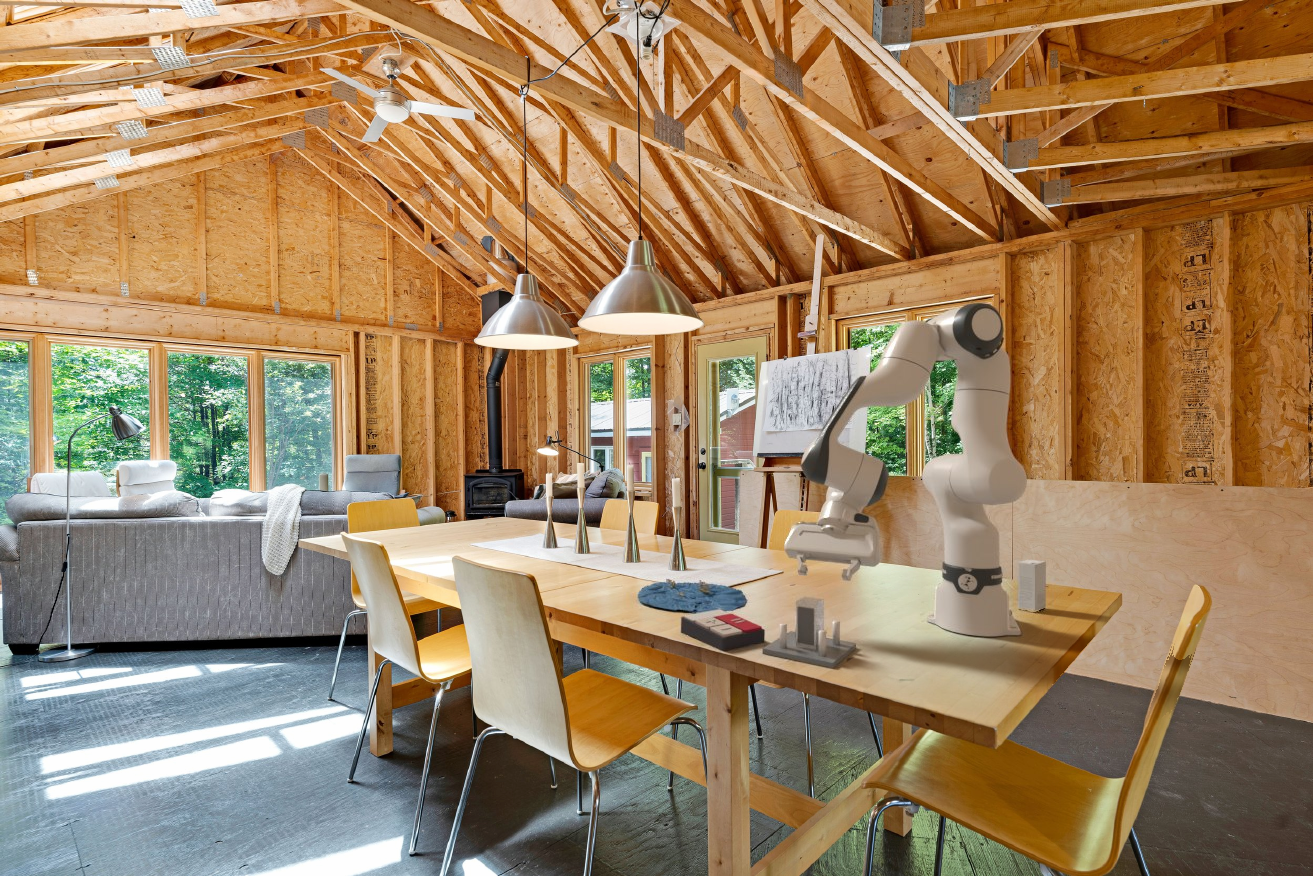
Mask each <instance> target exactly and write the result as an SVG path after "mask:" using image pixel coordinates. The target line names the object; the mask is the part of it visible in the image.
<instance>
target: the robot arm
mask: <svg viewBox="0 0 1313 876" xmlns="http://www.w3.org/2000/svg"><path fill="white" fill-rule="evenodd" d="M1004 331H1005V330H1004V321H1003V319H1002V316H1001V313H1000V312H999V310H998V309H997V308H995V306H993V304H989V303H985V302H973V303H967V304H964V305H963V306H959V307H954V308H951V309H949V310H947V311H944V312H942V313H941V314H938V315H936V316H934V317H932V318H928V319H927V320H925V321H923V320H919V319H917V320H916V319H915V320H914V319H913V320H907V321H905V322H903V323H902V324H900V325H899V326H897V328H896V330H895V331H894V333H893V334H892V337H891V338H890V340H889V341H888V343H887V345H886V347H885V349H884V350H883V352H882V355H881V357H880V359H879V362H878V364H877V366H876V367H875V368H874V369H873V370H872V371H871V372H870V373H868V374H867V375H860V376H859V377H858V378H856V379H855V380H854V381H853V382H852V384H851V385H850V386H849V388H848V389H847V390H846V392H845V394H844V395H843V396H842V398H841V399H840V401H839V402H838V404H837V405H836V407H835V408H834V410H833V411H832V413H831V414H830V416H829V418H828V419H827V420H826V423H824V425H823V427H822V429H821V430H820V432H819V434H818V435H817V436H816V437H815V438H814V439H813V440H812V442H811V443H810V444H809V445H808V446H807V448H806V449H805V451H804V453H803V455H802V458H801V461H800V462H801V464H800V468H801V470H802V472H803V474H804V476H805V478H806V479H807V481H809V482H813V483H816V484H819V485H822V486H827V487H828V488H827V489H826V495H825V501H824V503H823V505H822V506H821V509H820V513H819V516H818V519H817V522H815V521H799V522H796V523H793V524H792V526H791V528H790V531H789V534H788V536H786V537H787V538H786V540H785V542H784V545H783V548H784V549H783V550H784V551H785V553H786V556H787V557H788V558H789V559H793V560H794V559H797V562H798V568H797V573H798V575H799V576H805V577H806V576H807V574H808V571H809V568H808V566H807V564H804V563H807V561H815V562H823V563H824V562H825V563H834V564H845V565H850V566H849V567H847V568H843V569H842V572H841V578H842V581H847V582H851V580H852V577H853V575H854V574H855V573H857V572H858V571H859V570H860V569H861V568H860V567H861V566H863V567H870V568H874V567H876V566H878V565H879V564H880V563H881V555H882V545H881V541H880V539H881V533H880V527H879V526H878V525H879V524H878V522H877V520H876V518H875V517H874V516H872V515H869V514H865V513H862V512H863V510H864V509H865V507H866V508H867V507H870V506H873V505H874V504H876V503H878V502H879V501H880V500H881V499H882V498H883V496H884V494H885V492H886V489H887V485H888V480H889V477H890V473H889V469H888V466H887V465H886V463H885V462H884V461H882V460H881V459H879V458H877V457H874V456H872V455H869V454H867V453H864V452H860V451H858V450H856V449H854V448H851V447H848V446H846V445H843V444H841V443H840V442H839V437H840V436H841V434H842V432H843V431H844V430H845V428H846V427H847V425H848V423H849V422H850V420H851V418H852V417H853V415H854V414H855V412H857V411H859V410H860V409H863V408H869V407H873V408H874V407H877V408H878V407H879V408H880V407H881V408H883V407H884V408H892V407H893V408H894V407H902V406H905V405H908V404H911V403H912V402H915V401H916V400H918V398H919V397H920V396H921V395H922V393H923V391H925V388H926V387H927V384H928V382H929V379H930V378H931V373H932V371H933V369H934V366H935V363H942V362H947V361H953V360H954V364H955V367H956V371H957V377H956V383H955V387H954V388H955V389H954V396H953V403H952V411H951V418H950V419H951V420H950V423H951V424H950V425H951V428H952V429H953V430H954V431H955V432H956V433H957V434H958V436H959V439H960V442H961V447H962V453H946V454H944V455H940V456H937V457H934V458H931V459H930V460H929V461H927V463H926V464H925V465H924V468H923V470H922V475H921V477H922V483H923V486H924V488H925V489H926V490H927V491H928V493H929V494H930V495H931V496H932V497H933V500H934V502H935V504H936V507H937V509H938V512H939V516H940V518H941V519H940V520H941V523H942V528H943V529H942V530H943V531H942V532H943V545H944V546H943V547H944V548H943V552H944V560H943V561H942V567H941V573H942V574H941V575H942V578H943V579H942V581H941V582H940V583H939V584H937V585H935V591H934V612H933V613H931V614H929V615H927V616H926V621H927V622H929V623H930V624H933V625H936V626H938V627H940V628H942V629H944V630H947V631H950V632H954V633H958V634H962V635H967V636H968V635H970V636H977V637H1001V636H1020V635H1021V634H1022V633H1021V629H1020V627H1019V625H1018V622H1017V621H1016V619H1015V617H1014V615H1013V611H1012V609H1010V594H1008V593H1007V591H1006V590H1005V589H1004V588H1003V586H1002V583H1003V571H1002V570H1003V569H1002V566H1000V531H999V530H998V528H997V527H996V526H995V524H994V523H992V521H991V520H990V519H989V517H988V515H987V513H986V511H985V508H984V505H987V506H997V505H1005V504H1010V503H1014V502H1016V501H1018V500H1019V499H1020V498H1022V496H1023V495H1024V493H1025V492H1026V489H1027V485H1028V483H1027V482H1028V479H1027V478H1028V477H1027V473H1026V471H1025V468H1024V466H1023V465H1022V464H1021V463H1020V462H1019V461H1018V459H1016V458H1015V456H1014V454H1013V452H1012V449H1011V447H1010V443H1009V438H1008V433H1007V423H1008V413H1009V412H1008V411H1009V402H1010V392H1011V363H1010V357H1009V356H1010V355H1009V354H1008V353H1007V351H1005V350H1004V349H1003V348H1002V346H1003V344H1004V343H1003V342H1004Z"/></svg>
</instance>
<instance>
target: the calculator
mask: <svg viewBox="0 0 1313 876" xmlns="http://www.w3.org/2000/svg"><path fill="white" fill-rule="evenodd" d="M720 609H721V608H719V609H718V610H713V611H707V612H701V613H691V614H690V613H689V614H686V615H683V616H681V617H680V633H681V634H683V635H685V636H687V635H688V636H687V637H690V638H694V639H696V640H698V641H700V642H702V643H704V644H706V645H708V646H710V647H712V648H715V649H716V650H719V651H721V652H728V651H733V650H738V649H740V648H746V647H750V646H755V645H759V644H764V643H765V640H766V639H765V638H766V637H765V635H766V632H765V631H766V630H765V629H764V628H763V627H762V626H761V625H760V624H757V623H754V622H752V621H750V620H748V619H745V618H744V617H741V616H739V615H736V614H734V613H729V612H728V611H723V610H720Z"/></svg>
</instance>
